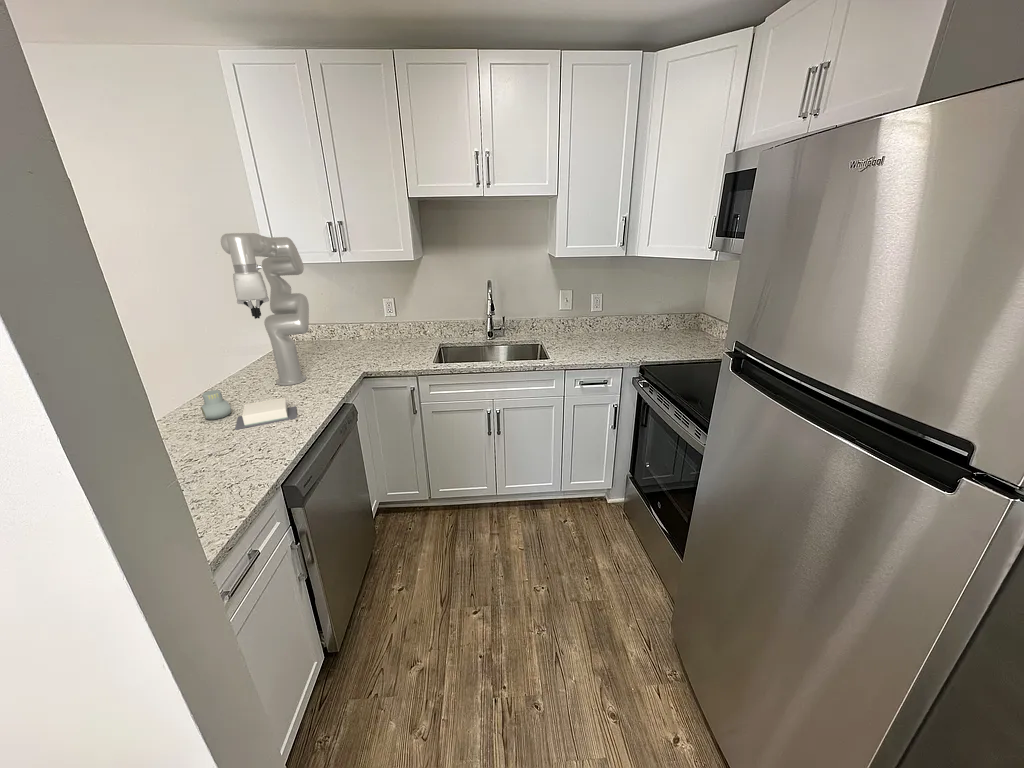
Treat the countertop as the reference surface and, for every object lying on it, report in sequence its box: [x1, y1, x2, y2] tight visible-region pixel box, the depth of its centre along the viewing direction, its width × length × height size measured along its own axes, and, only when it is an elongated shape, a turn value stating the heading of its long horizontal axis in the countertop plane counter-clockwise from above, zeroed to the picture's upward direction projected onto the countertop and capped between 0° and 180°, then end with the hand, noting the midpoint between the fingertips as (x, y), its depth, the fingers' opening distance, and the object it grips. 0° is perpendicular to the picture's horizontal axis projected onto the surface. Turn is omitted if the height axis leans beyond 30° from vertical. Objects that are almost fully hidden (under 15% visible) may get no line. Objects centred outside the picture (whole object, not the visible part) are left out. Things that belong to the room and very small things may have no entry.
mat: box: [234, 405, 298, 431], centre depth 160 cm, size 12×20×1 cm, turn 117°
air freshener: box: [200, 389, 232, 421], centre depth 161 cm, size 11×8×10 cm
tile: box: [241, 397, 289, 426], centre depth 160 cm, size 4×14×12 cm
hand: (257, 317), depth 164 cm, fingers closed
